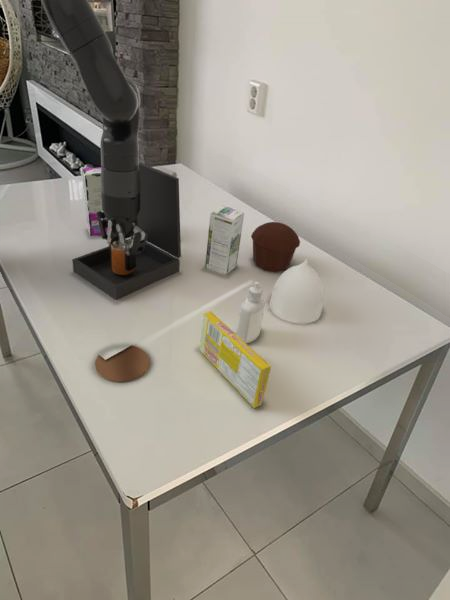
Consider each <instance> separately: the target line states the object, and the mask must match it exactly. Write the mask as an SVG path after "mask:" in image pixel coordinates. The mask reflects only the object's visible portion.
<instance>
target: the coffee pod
mask: <svg viewBox="0 0 450 600" xmlns="http://www.w3.org/2000/svg"><path fill="white" fill-rule="evenodd" d="M129 248H130V249H131V248H132V244H129ZM125 254H126V253H125V249H124V245H122V244H121V241H120V240H117V241H114V242H113V243H112V244H111V257H112V271H113V272H114V273H116V274H119V275H127V274H130V273H132V272H133V270H134V269H132V270H129V271H128V270H127V269H125Z"/></svg>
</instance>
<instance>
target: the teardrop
mask: <svg viewBox="0 0 450 600" xmlns="http://www.w3.org/2000/svg"><path fill="white" fill-rule="evenodd" d="M325 295H326V292H325V287H324V284H323V281H322V280H321V277H320V275H319V274H318V273H317V271H316V270H315V269H314V268H312V267H311V266H310V264H309V263H308V259H307V258H305V260H304V261H302V263H300V264H297V265H293V266H291V267H288V268H287V269H286V270H284V271H283V273H281V274H280V276H279V277H278V279H277V280H276V282H275V283H274V287H273V290H272V293H271V297H270V299H269V300H270V301H269V306H270V311H271V312H272V313H273V314H274V315H275V316H276V317H278V318H279V319H281V320H283V321H287V322H290V323H293V324H304V325H305V324H310V323H314V322H316V321H318V320H319V319H320V317H321V314H322V311H323V306H324V301H325Z"/></svg>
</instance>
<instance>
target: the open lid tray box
mask: <svg viewBox="0 0 450 600" xmlns="http://www.w3.org/2000/svg"><path fill="white" fill-rule="evenodd" d="M180 260H181V259H180V258H177V257H175V256H173V255H171V254H169V253H168V252H166V251H164V250H162V249H160V248H158V247H157V246H155V245H153V244H151V243H149V242H147V241H146V245H145V249H144V253H142V254H139V255H136V267H135V268H134V270H133V272H132V273H130V274H127V275H119V274H116V273H114V272H113V271H112V260H110V255H109V245H108V246H105V247H103V248H99V249H98V250H94V251H92V252H89V253H85V254H83V255H80V256H78V257H75V258H72V259H71V261H72V271H73V273H75V274H76V275H78V276H79V277H81V278H82V279H84V280H85V281H86V282H88V283H89V284H91V285H92V286H94V287H95V288H97V289H99V290H100V291H101V292H103V293H105V294H106V295H108V296H109V297H111V298H112V299H113V300H115V301H118V300H121V299H122V298H124V297H127V296H129V295H131V294H133V293H135V292H137V291H140V290H142V289H144V288H147V287H148V286H151V285H153V284H155V283H157V282H159V281H161V280H164V279H166V278H168V277H170V276H172V275H174V274H177V273H178V272H180Z"/></svg>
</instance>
